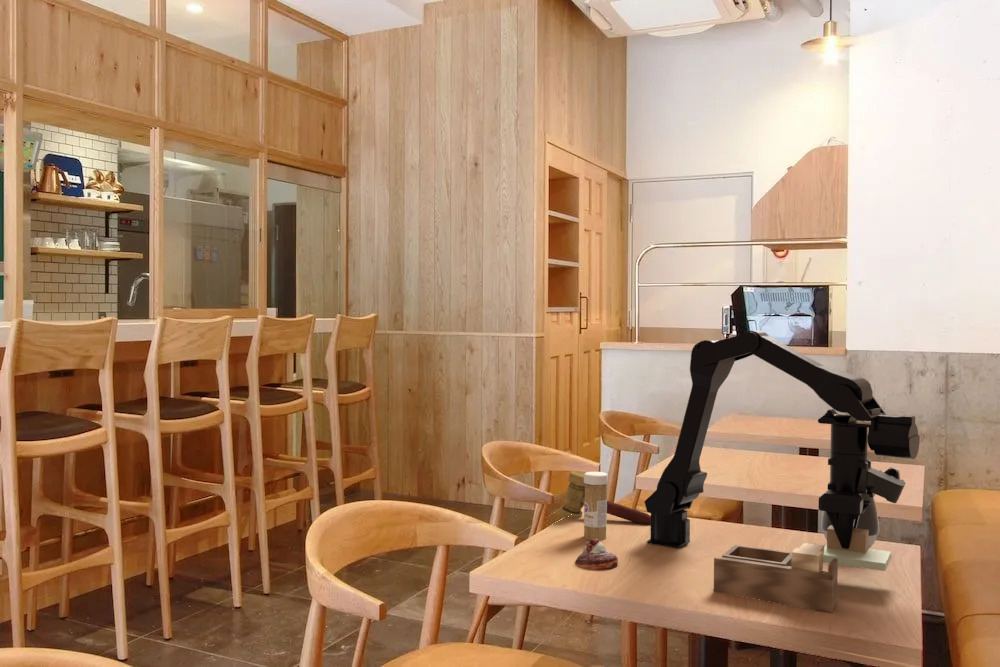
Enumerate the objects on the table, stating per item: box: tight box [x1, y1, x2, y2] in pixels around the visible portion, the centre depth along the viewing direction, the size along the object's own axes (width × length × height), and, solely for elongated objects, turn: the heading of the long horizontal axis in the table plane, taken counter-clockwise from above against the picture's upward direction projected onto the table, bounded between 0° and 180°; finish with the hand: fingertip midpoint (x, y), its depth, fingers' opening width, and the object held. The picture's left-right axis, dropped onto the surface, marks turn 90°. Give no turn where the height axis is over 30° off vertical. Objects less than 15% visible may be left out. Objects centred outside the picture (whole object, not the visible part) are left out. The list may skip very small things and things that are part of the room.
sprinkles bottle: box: [583, 471, 609, 541], centre depth 170 cm, size 5×5×14 cm
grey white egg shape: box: [820, 494, 880, 549], centre depth 166 cm, size 10×10×15 cm
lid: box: [823, 525, 892, 572], centre depth 144 cm, size 10×8×4 cm
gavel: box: [559, 470, 651, 526], centre depth 185 cm, size 21×5×10 cm, turn 71°
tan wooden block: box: [791, 542, 825, 573], centre depth 135 cm, size 4×7×3 cm, turn 150°
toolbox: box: [713, 544, 839, 614], centre depth 140 cm, size 18×12×7 cm
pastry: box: [575, 539, 619, 571], centre depth 153 cm, size 8×8×5 cm
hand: (847, 546), depth 146 cm, fingers closed on lid, 3 cm apart
